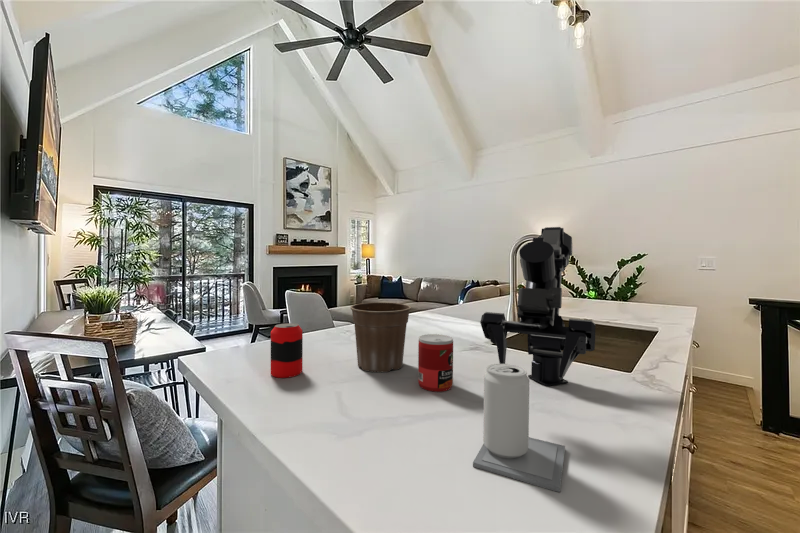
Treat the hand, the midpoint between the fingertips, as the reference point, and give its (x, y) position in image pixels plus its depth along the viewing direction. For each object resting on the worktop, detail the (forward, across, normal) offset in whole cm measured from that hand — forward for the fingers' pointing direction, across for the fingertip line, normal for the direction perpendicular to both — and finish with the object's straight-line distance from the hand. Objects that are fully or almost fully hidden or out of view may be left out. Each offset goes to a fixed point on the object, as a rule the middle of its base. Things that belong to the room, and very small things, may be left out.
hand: (530, 373), depth 57 cm
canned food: (-1, -22, +16) cm, 27 cm away
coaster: (+13, 0, +1) cm, 13 cm away
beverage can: (+12, -2, +1) cm, 13 cm away
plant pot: (-6, -41, +21) cm, 46 cm away
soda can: (+6, -58, +8) cm, 59 cm away
